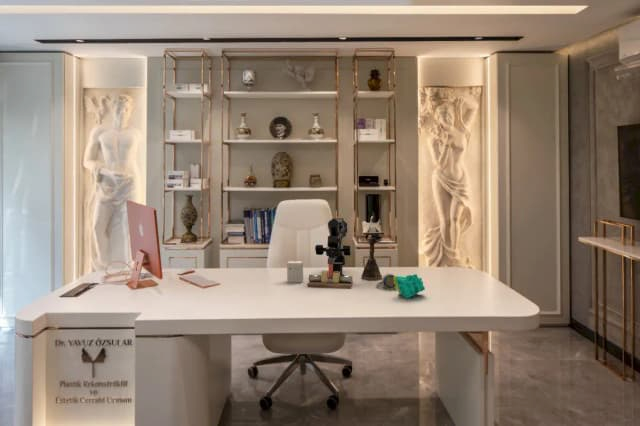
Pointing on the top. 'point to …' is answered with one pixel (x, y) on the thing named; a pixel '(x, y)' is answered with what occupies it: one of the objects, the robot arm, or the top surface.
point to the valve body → (336, 278)
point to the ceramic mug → (387, 281)
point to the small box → (295, 271)
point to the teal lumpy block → (408, 285)
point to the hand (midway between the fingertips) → (331, 262)
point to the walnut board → (330, 284)
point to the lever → (330, 268)
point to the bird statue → (372, 250)
